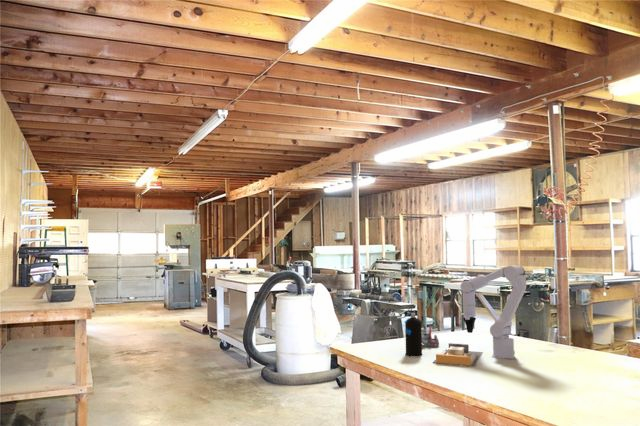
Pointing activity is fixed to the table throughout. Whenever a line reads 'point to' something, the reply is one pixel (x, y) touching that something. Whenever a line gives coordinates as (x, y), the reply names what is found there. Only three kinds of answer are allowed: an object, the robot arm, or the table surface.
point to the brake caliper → (429, 339)
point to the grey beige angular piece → (458, 349)
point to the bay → (458, 358)
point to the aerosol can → (413, 336)
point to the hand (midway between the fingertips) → (470, 332)
